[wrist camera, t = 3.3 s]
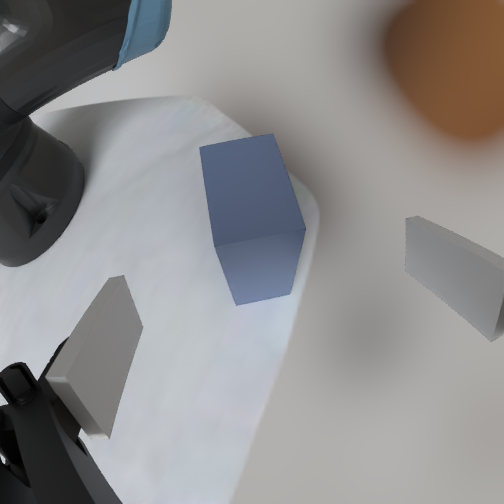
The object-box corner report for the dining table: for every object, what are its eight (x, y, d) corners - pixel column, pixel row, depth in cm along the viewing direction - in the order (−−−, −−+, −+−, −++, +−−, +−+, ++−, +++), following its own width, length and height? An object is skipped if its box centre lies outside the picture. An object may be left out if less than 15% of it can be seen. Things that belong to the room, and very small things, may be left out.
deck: (221, 234, 25) (198, 147, 15) (272, 223, 25) (273, 133, 16) (235, 305, 22) (213, 247, 13) (290, 294, 22) (307, 228, 13)
